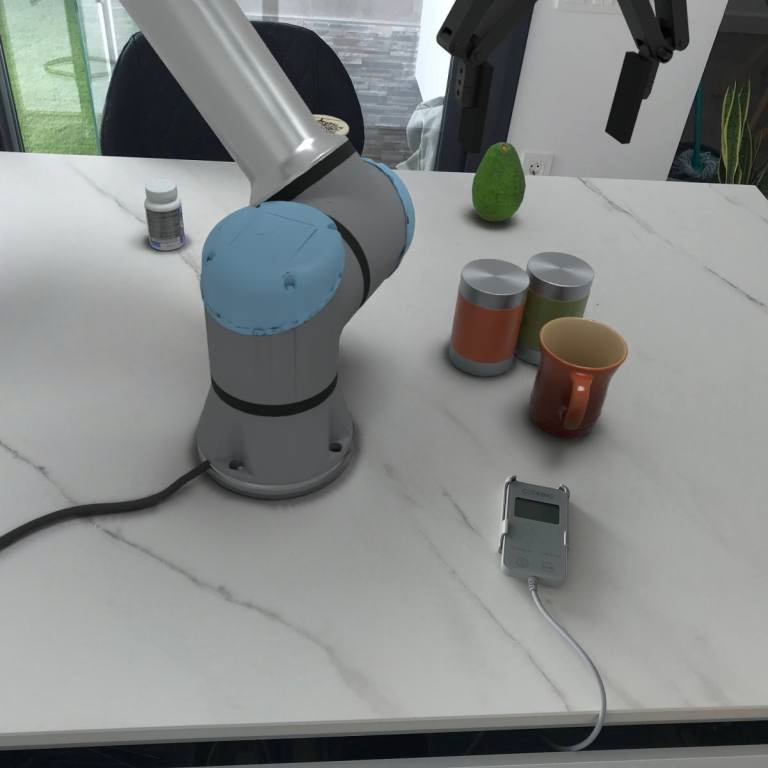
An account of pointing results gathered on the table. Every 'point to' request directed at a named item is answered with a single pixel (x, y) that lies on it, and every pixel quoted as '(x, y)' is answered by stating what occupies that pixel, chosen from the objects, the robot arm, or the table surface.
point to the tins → (513, 308)
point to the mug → (574, 374)
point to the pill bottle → (164, 215)
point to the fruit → (498, 183)
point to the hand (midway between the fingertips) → (545, 142)
